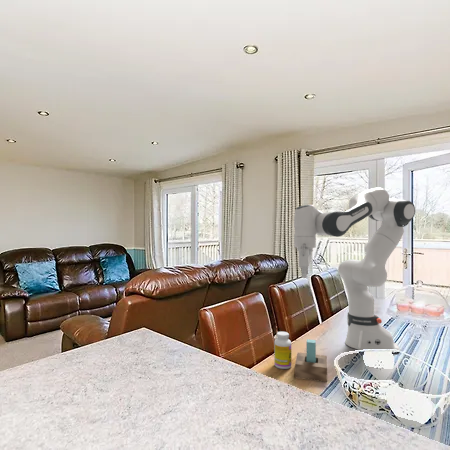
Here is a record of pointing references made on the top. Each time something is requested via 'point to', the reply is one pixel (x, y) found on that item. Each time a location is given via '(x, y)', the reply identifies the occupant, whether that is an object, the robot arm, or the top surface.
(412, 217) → the robot arm
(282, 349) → the supplement bottle
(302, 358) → the socket block
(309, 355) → the teal peg
